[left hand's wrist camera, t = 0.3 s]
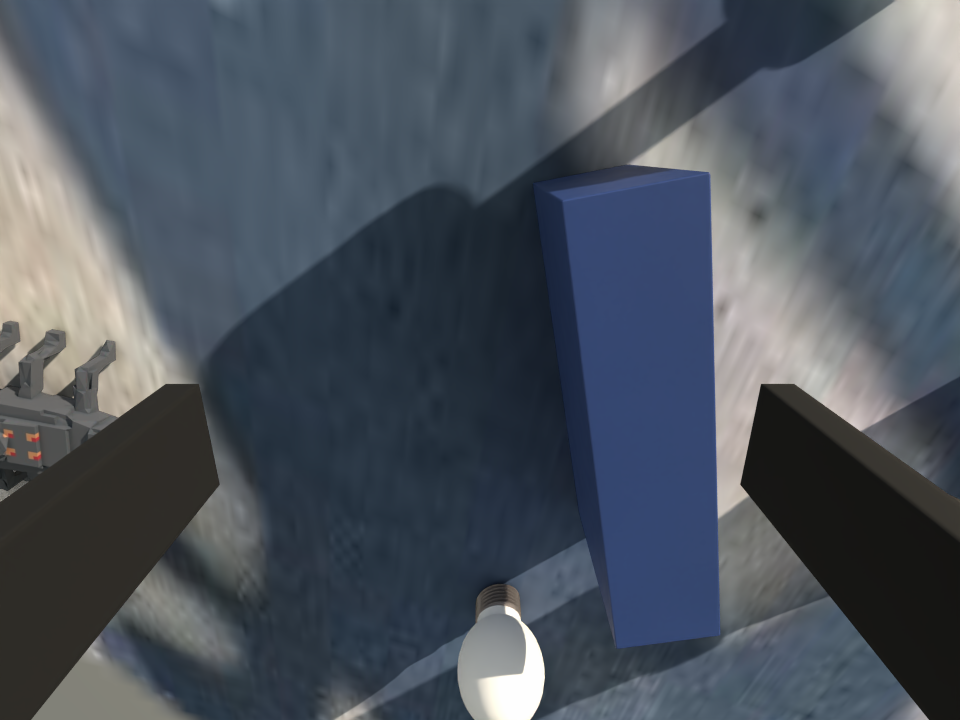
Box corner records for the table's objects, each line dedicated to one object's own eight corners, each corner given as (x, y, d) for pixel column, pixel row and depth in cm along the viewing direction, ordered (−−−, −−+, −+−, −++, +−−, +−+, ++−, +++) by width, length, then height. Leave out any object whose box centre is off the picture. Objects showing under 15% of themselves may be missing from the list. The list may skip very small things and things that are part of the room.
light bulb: (495, 559, 45) (500, 677, 35) (551, 598, 47) (571, 723, 37) (445, 603, 47) (435, 728, 37) (500, 640, 49) (505, 769, 39)
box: (532, 182, 34) (561, 200, 22) (628, 164, 34) (710, 171, 22) (578, 512, 44) (616, 649, 32) (653, 501, 43) (720, 636, 31)
